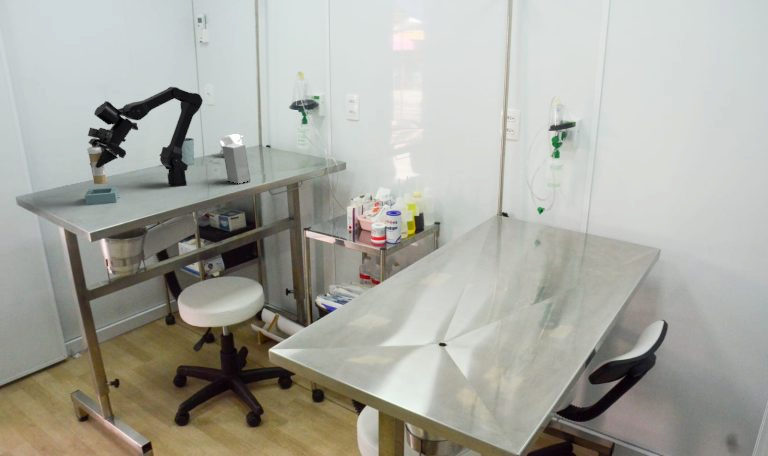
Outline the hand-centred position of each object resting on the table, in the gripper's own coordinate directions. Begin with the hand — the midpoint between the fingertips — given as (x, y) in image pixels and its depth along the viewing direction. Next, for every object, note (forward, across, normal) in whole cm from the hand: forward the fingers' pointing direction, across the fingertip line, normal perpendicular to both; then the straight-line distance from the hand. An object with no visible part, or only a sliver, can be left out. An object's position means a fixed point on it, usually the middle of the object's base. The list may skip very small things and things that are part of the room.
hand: (93, 166), depth 203 cm
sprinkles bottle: (+4, 0, +6) cm, 7 cm away
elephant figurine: (-46, -29, +66) cm, 85 cm away
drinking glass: (-29, -33, +49) cm, 65 cm away
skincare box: (-26, +15, +46) cm, 55 cm away
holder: (+9, 0, +10) cm, 13 cm away
